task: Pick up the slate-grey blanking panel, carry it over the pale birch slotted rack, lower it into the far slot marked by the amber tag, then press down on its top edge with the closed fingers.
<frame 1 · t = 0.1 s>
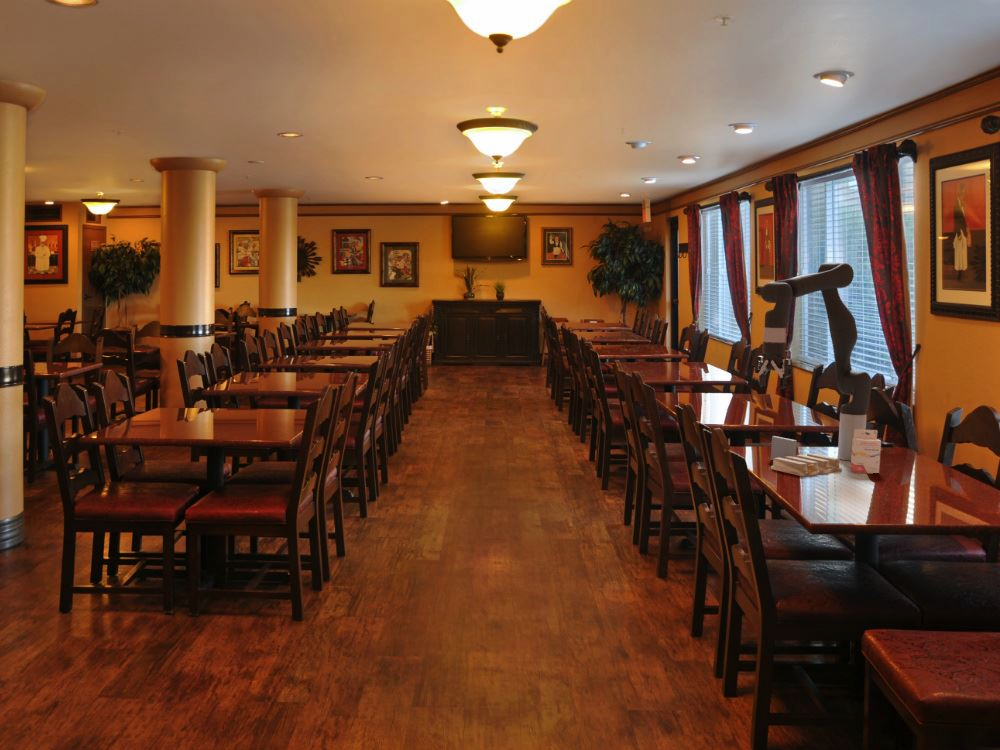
hand: (772, 387, 319), 29 cm above the table, fingers open, 8 cm apart
blanking panel: (782, 462, 336), on the table
rack: (806, 469, 324), on the table
ink cartridge box: (864, 472, 322), on the table
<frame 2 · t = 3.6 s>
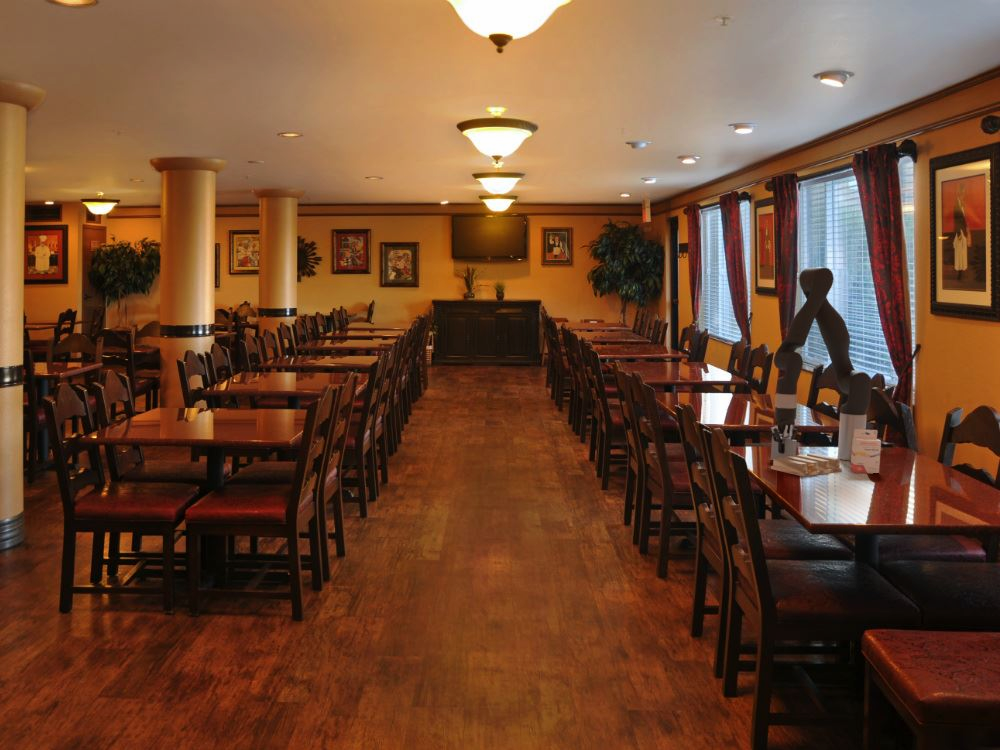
hand: (783, 452, 336), 4 cm above the table, fingers closed on blanking panel
blanking panel: (782, 462, 336), on the table, touching gripper
everything else where it was.
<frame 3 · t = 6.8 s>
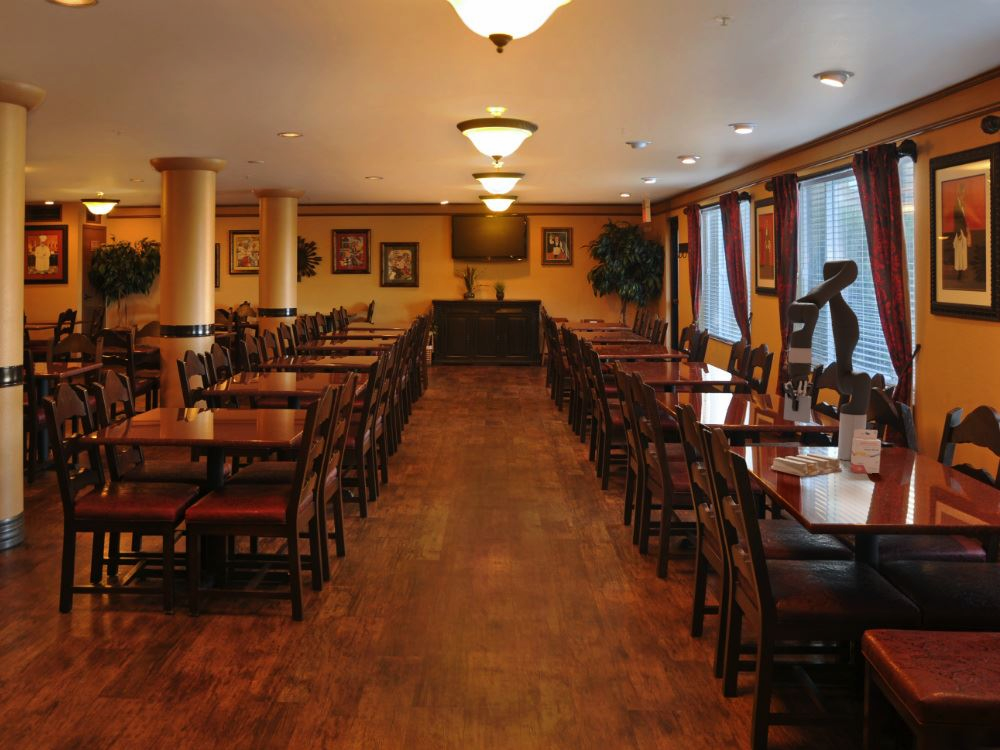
hand: (797, 410, 319), 21 cm above the table, fingers closed on blanking panel, 1 cm apart
blanking panel: (796, 420, 319), point 18 cm above the table, touching gripper
everything else where it was.
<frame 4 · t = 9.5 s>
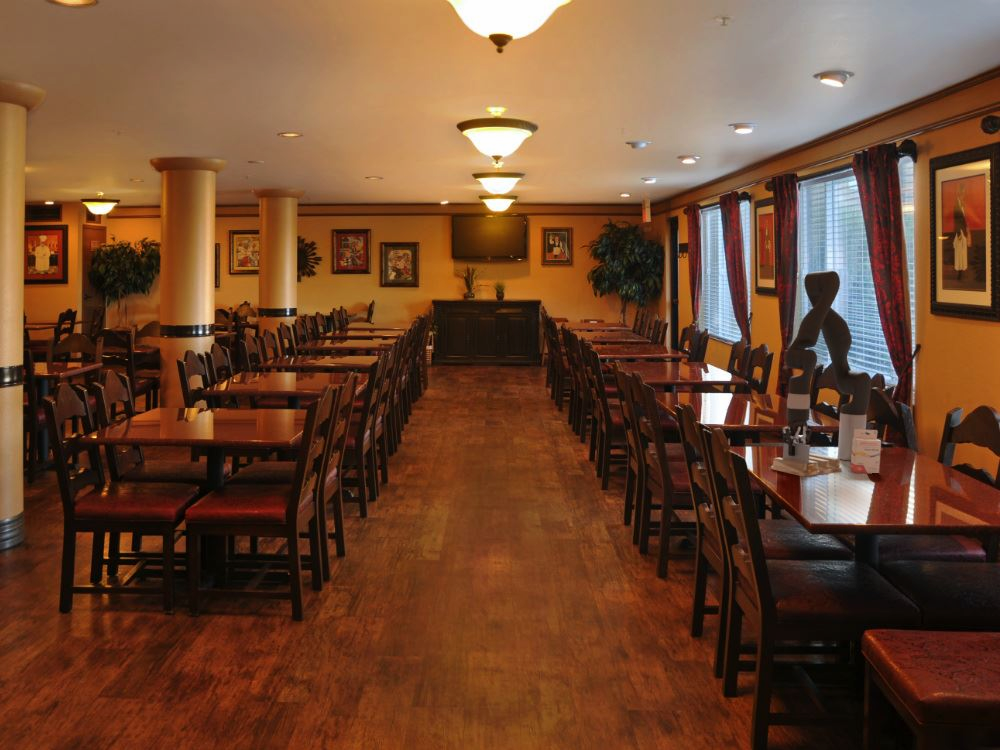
hand: (795, 455, 320), 6 cm above the table, fingers open, 4 cm apart
blanking panel: (795, 468, 321), point 1 cm above the table, touching rack
everything else where it was.
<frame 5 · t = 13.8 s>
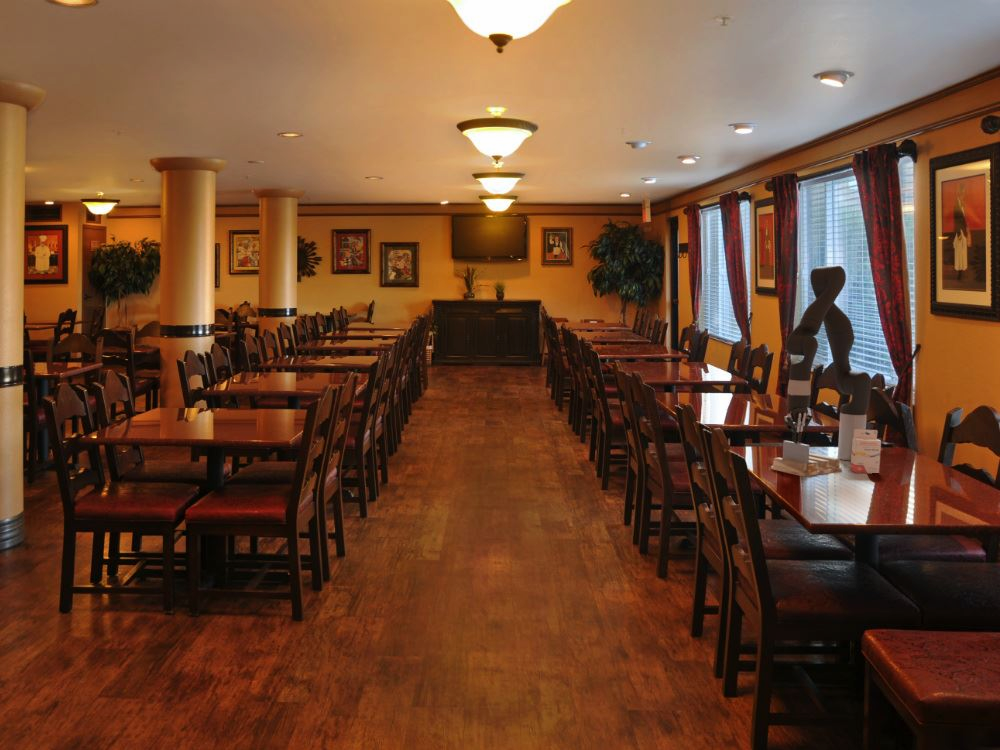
hand: (796, 442, 320), 10 cm above the table, fingers closed
nothing on the table moved.
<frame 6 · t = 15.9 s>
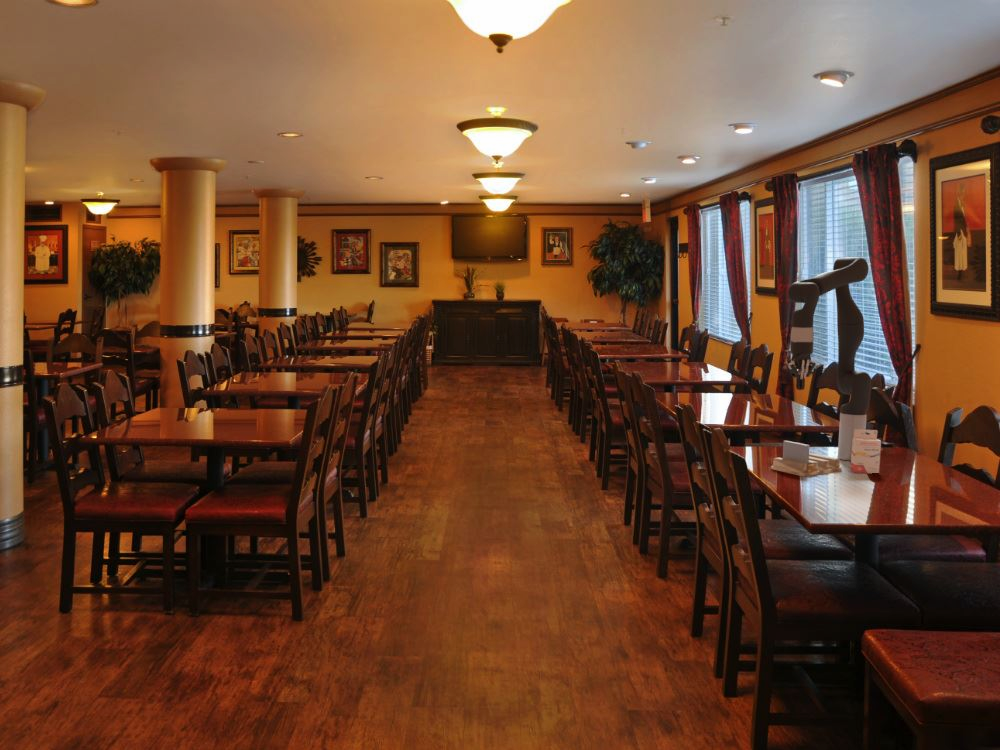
hand: (800, 389, 322), 28 cm above the table, fingers closed
nothing on the table moved.
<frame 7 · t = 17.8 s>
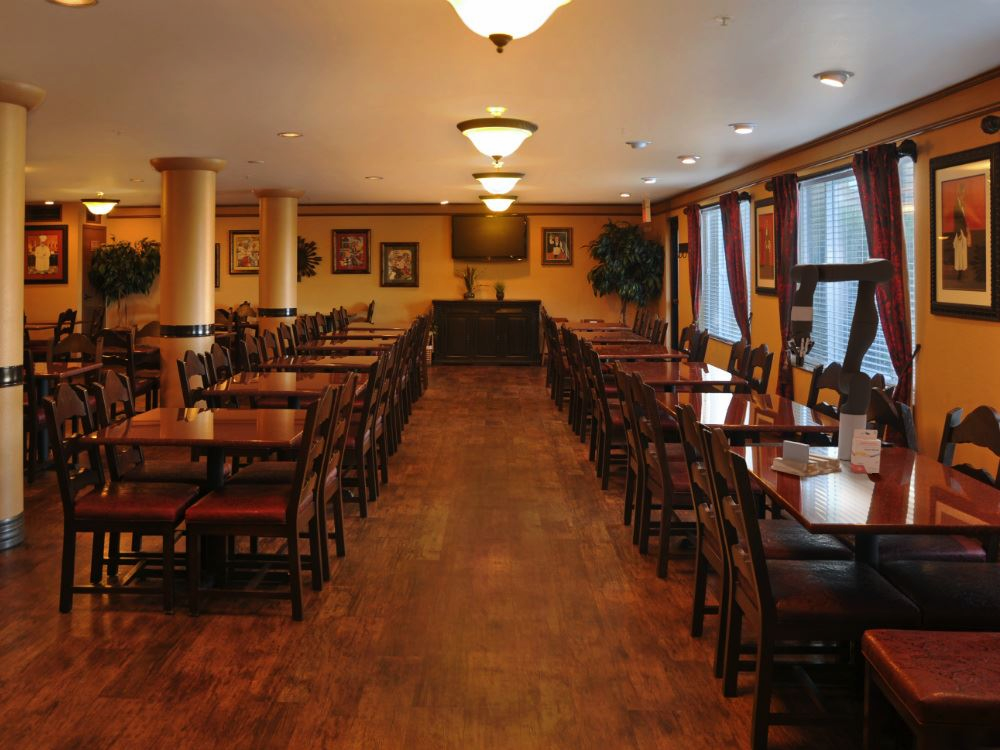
hand: (799, 366, 335), 35 cm above the table, fingers closed
nothing on the table moved.
at the end: blanking panel 0.1 cm from the target spot on the rack, point 1.0 cm above the rack's base; blanking panel tilted 0°; the gripper is holding nothing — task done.
